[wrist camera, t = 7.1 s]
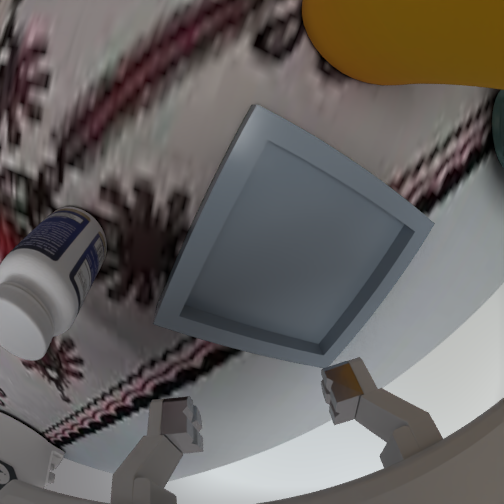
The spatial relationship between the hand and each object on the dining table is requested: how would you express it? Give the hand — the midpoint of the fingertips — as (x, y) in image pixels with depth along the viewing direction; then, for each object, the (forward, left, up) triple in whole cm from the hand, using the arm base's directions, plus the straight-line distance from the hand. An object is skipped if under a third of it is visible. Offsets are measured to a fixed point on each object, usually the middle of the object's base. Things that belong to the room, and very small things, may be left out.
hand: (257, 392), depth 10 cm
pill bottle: (-4, +11, -12) cm, 17 cm away
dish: (+1, -5, -12) cm, 13 cm away
